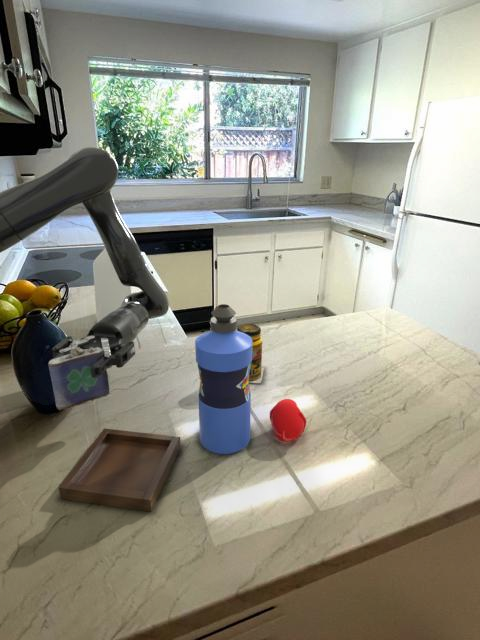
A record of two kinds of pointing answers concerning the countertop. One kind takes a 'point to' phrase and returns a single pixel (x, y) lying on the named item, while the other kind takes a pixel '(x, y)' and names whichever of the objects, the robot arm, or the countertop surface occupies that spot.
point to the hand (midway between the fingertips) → (72, 370)
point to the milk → (108, 286)
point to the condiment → (254, 351)
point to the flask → (77, 378)
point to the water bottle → (224, 383)
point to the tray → (122, 470)
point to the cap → (287, 420)
